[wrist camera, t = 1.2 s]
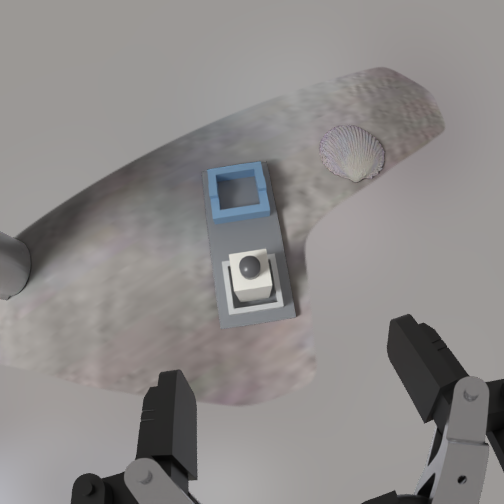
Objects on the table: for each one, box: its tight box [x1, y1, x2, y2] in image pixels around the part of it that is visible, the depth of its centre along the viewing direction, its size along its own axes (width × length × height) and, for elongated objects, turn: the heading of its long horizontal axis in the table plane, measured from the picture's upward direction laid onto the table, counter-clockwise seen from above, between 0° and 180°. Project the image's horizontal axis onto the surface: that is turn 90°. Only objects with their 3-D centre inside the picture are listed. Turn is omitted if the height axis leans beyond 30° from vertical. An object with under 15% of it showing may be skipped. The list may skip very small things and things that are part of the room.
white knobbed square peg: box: [229, 249, 272, 302], centre depth 32 cm, size 3×3×12 cm
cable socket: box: [202, 161, 296, 329], centre depth 38 cm, size 21×9×4 cm, turn 9°
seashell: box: [320, 125, 385, 182], centre depth 42 cm, size 10×6×10 cm
